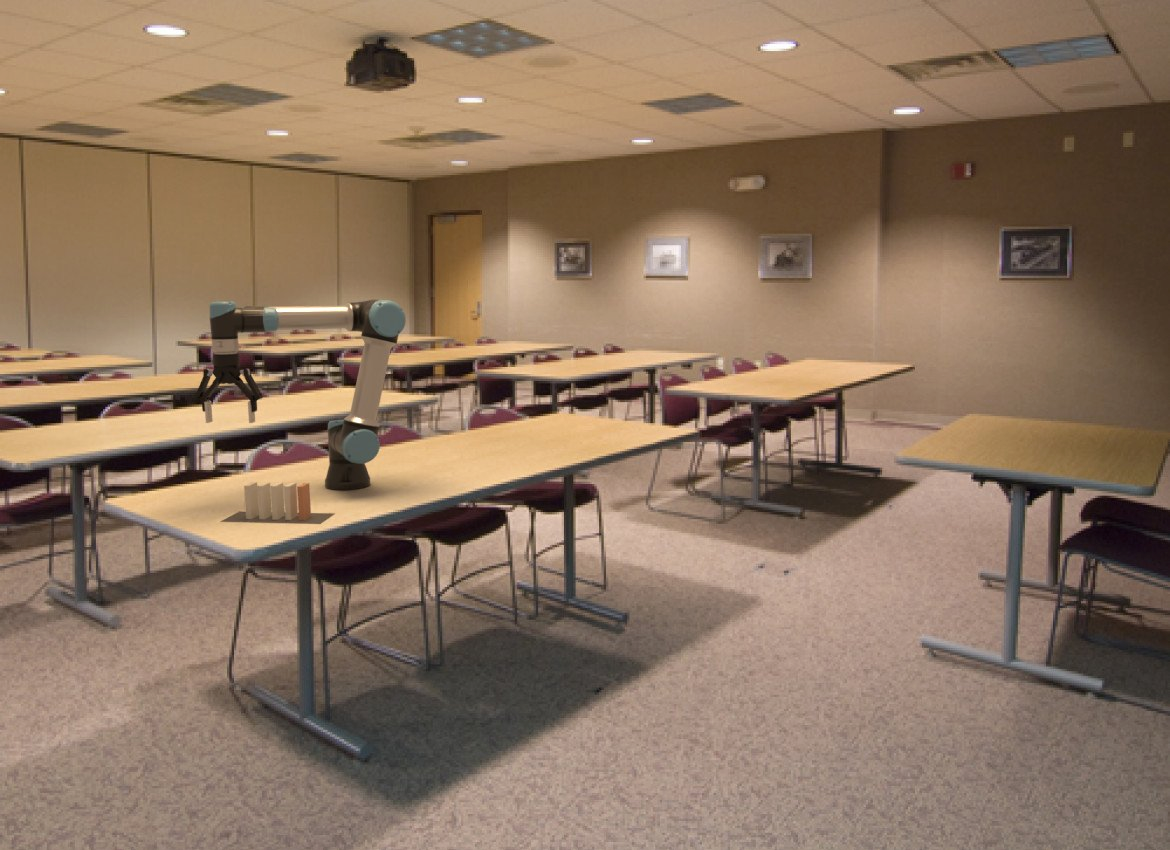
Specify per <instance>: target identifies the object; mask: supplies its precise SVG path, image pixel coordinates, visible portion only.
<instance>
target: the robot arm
mask: <svg viewBox="0 0 1170 850" xmlns="http://www.w3.org/2000/svg"><path fill="white" fill-rule="evenodd" d="M406 322H407V321H406V313H405V311H404V310H403V307H401V305H399V304H398V303H397V302H395V301H393V300H389V299H383V298H382V299H369V300H363V301H357V302H356V301H355V302H347V303H345V304H344V305H302V306H301V305H295V306H294V305H293V306H292V305H290V306H288V305H287V306H285V305H284V306H276V305H275V306H244V307H237V304H236V302H235V301H213V302H211V303H210V304H209V325H210V336H211V337H210V338H211V351H212V353H214V354H212V364H213V369H211V368H205V369H203V370H202V371H203V373H202V375H203V376H202V379H201V380H200V381H201V382H200V383H199V386H198V389H197V391H196V393H195V396H194V399H195V400H198V401H200V402H201V410H202V412H204V414H205V423H206V424H210V423H212V422H213V411H212V409H213V408H212V401H211V400H210V398H211V396H212V395H213V393H215V391H216V390H217V388H218V387H220V385H225V384H229V385H232V384H234V385H235V386H236V387H238V388H239V390H240V391H241V392H242V393H243V394H244V395H245V397H247V399H248V400H249V401H247V410H248V411H247V414H248V423H249V424H253V423H256V413H255V412H257V411H258V400H262V399H263V398H264V397H263V396H264V395H263V393H262V392H261V390H260V388H259V387H258V385H257V383H256V382H255V379H254V377H253V376H252V370H251V369H250V368H245V369H241V367H240V366H241V362H240V360H241V359H240V354H239V353H238V352H239V351H240V345H239V333H240V334H243V333H272V332H277V331H278V330H279V331H281V330H282V331H283V330H330V329H331V330H332V329H334V330H335V329H337V330H338V329H346V331H347V332H360V333H361V334H360V335H361V336H360V337H361V339H362V341H363V342H364V343H363V350H362V353H361V359H360V363H359V370H358V374H357V379H356V384H355V387H354V392H353V397H352V402H351V403H352V404H351V408H350V413H349V414H348V415H347V416H345V417H344V418H343V419H336V420H329V422H327V429H326V430H327V441H328V460H329V461H328V463H329V465H328V469H327V472H326V477H325V479H324V487H325V489H326V488H327V489H330V490H336V491H338V490H339V491H343V490H344V491H345V490H346V491H348V490H357V489H363V488H366V487H369V486H370V485H371V477H370V475H369V471H368V468H367V466H366V464H367V463H369V462H371V461H372V460H374V459H375V457H377V455H378V453H379V452H380V447H381V445H380V439H379V431H380V426H381V425H380V424H379V422H378V420H377V417H378V412H379V408H380V403H381V398H382V393H383V389H384V388H383V387H384V383H385V378H386V374H387V370H388V364H389V358H390V356H391V349H392V348H394V347H395V346H397V344H398V339H399V335H400V334H401V333H402V331H404V328H405V326H406V324H407V323H406ZM241 375H242V377H244V380H245V382H246V384H247V385H246V384H245V383H244V381H243V379H242V378H241ZM212 376H214V377H215V378H214V380H212V383H211V384H210V386H209V387H208V385H209V383H210V381H211V377H212ZM206 389H207V390H206Z"/></svg>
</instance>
